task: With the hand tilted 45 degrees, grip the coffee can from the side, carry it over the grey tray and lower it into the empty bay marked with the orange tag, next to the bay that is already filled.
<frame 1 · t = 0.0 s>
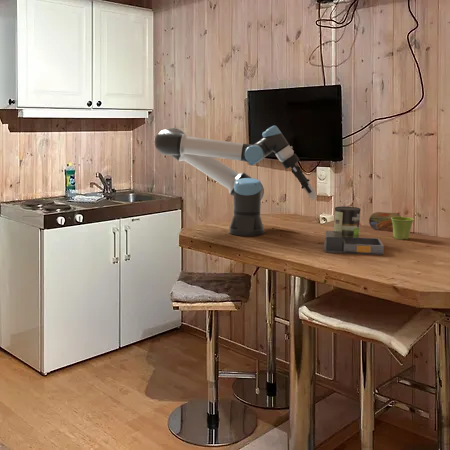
hand: (314, 196, 262), 15 cm above the table, tool tilted 35°, fingers open, 13 cm apart
tin: (385, 230, 269), on the table
grey tray: (361, 250, 225), on the table
plant pot: (400, 238, 250), on the table
coffee can: (345, 242, 240), on the table
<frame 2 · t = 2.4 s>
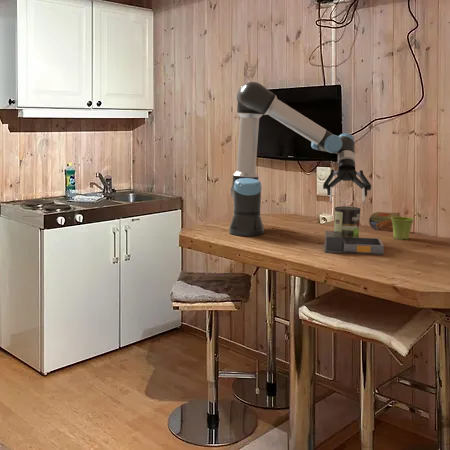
hand: (347, 201, 247), 15 cm above the table, tool tilted 45°, fingers open, 13 cm apart
nothing on the table moved.
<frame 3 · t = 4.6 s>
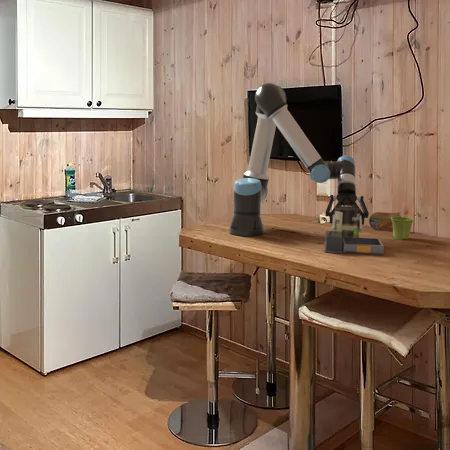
hand: (347, 230, 236), 6 cm above the table, tool tilted 45°, fingers closed on coffee can, 10 cm apart
coffee can: (345, 242, 240), on the table, touching gripper
everything else where it was.
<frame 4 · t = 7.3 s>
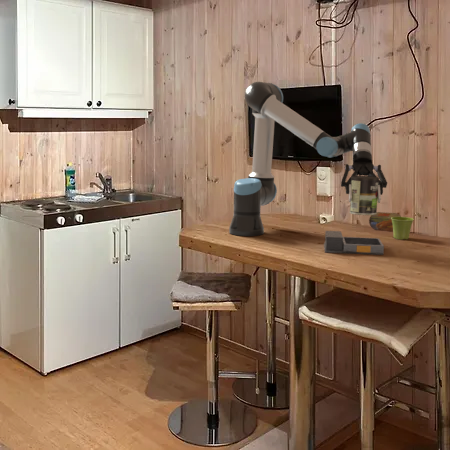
hand: (364, 200, 222), 19 cm above the table, tool tilted 45°, fingers closed on coffee can, 10 cm apart
coffee can: (363, 213, 226), point 14 cm above the table, touching gripper
everything else where it was.
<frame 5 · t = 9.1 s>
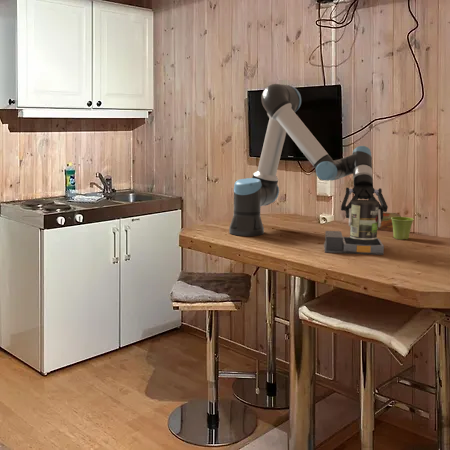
hand: (364, 224, 220), 10 cm above the table, tool tilted 45°, fingers closed on coffee can, 10 cm apart
coffee can: (363, 238, 224), point 5 cm above the table, touching gripper
everything else where it was.
when the fingers open (8 cm above the table, at t = 10.2 s): coffee can drops 1 cm, resting on grey tray.
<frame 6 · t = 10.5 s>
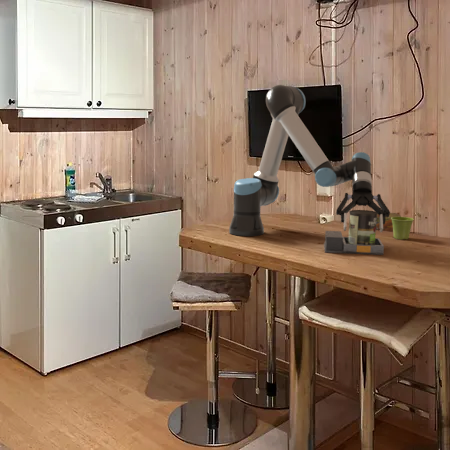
hand: (363, 229, 222), 8 cm above the table, tool tilted 45°, fingers open, 13 cm apart
coffee can: (361, 248, 225), point 1 cm above the table, touching grey tray
everything else where it was.
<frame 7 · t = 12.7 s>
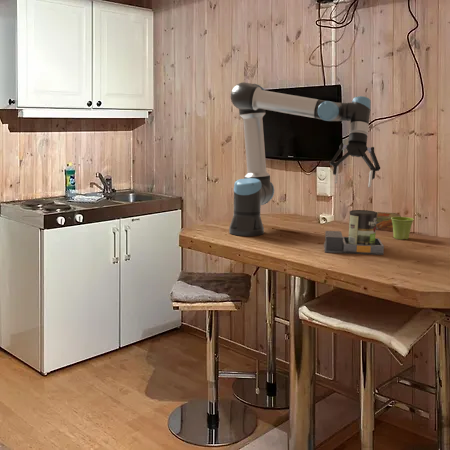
hand: (352, 184, 237), 23 cm above the table, tool tilted 20°, fingers open, 13 cm apart
nothing on the table moved.
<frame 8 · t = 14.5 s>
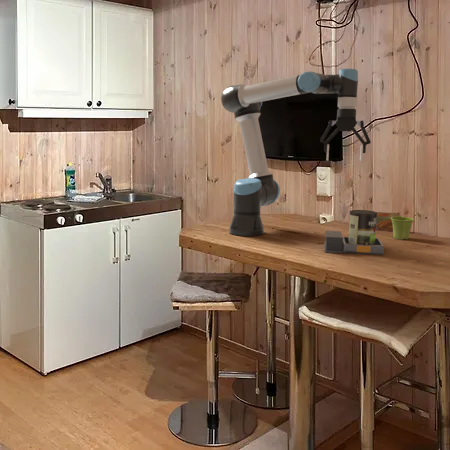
hand: (344, 160, 241), 33 cm above the table, tool pointing down, fingers open, 13 cm apart
nothing on the table moved.
at the end: coffee can inside the target area on the grey tray (0.1 cm from its centre), point 0.6 cm above the grey tray's base; coffee can tilted 0°; the gripper is holding nothing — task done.
